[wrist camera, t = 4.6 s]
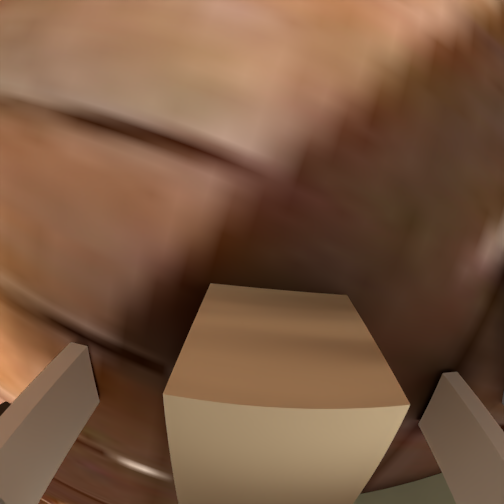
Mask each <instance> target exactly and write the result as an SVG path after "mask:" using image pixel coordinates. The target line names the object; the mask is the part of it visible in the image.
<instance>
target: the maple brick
mask: <svg viewBox="0 0 504 504" xmlns="http://www.w3.org/2000/svg"><path fill="white" fill-rule="evenodd" d="M163 401H164V411H165V420H166V428H167V436H168V443H169V450H170V457H171V464H172V470H173V476H174V482H175V487H176V493H177V498H178V503H179V504H353V503H354V502H355V500H356V499H357V497H358V496H359V494H360V493H361V491H362V490H363V488H364V487H365V485H366V484H367V482H368V481H369V479H370V478H371V476H372V475H373V473H374V471H375V470H376V468H377V466H378V465H379V463H380V461H381V460H382V458H383V456H384V455H385V453H386V451H387V449H388V447H389V446H390V444H391V442H392V440H393V438H394V437H395V435H396V433H397V431H398V429H399V427H400V425H401V423H402V421H403V419H404V417H405V415H406V413H407V411H408V409H409V407H410V403H409V401H408V399H407V397H406V396H405V394H404V392H403V390H402V388H401V387H400V385H399V383H398V381H397V379H396V378H395V376H394V374H393V372H392V370H391V369H390V367H389V365H388V363H387V362H386V360H385V358H384V356H383V355H382V353H381V351H380V349H379V348H378V346H377V344H376V342H375V341H374V339H373V337H372V336H371V334H370V332H369V331H368V329H367V327H366V326H365V324H364V322H363V321H362V319H361V317H360V316H359V314H358V312H357V311H356V309H355V307H354V306H353V304H352V302H351V301H350V299H349V298H348V296H347V295H338V294H324V293H311V292H299V291H287V290H275V289H264V288H254V287H243V286H233V285H223V284H214V283H210V285H209V288H208V290H207V292H206V295H205V297H204V299H203V301H202V304H201V306H200V308H199V310H198V313H197V315H196V317H195V320H194V322H193V324H192V326H191V329H190V331H189V333H188V336H187V338H186V340H185V343H184V345H183V347H182V350H181V352H180V354H179V357H178V359H177V361H176V364H175V366H174V368H173V371H172V373H171V375H170V378H169V380H168V383H167V385H166V387H165V390H164V392H163Z"/></svg>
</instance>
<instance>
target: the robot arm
mask: <svg viewBox="0 0 504 504" xmlns="http://www.w3.org/2000/svg"><path fill="white" fill-rule="evenodd" d="M99 402H100V401H99V397H98V393H97V389H96V385H95V380H94V376H93V371H92V367H91V362H90V357H89V352H88V346H85V345H81V344H77V343H73V342H70V343H69V344H68V345H67V346H66V347H65V348H64V349H63V350H62V351H61V352H60V353H59V354H58V355H57V356H56V357H55V358H54V359H53V360H52V361H51V362H50V363H49V364H48V365H47V367H46V368H45V369H44V370H43V371H42V372H41V373H40V374H39V375H38V376H37V377H36V378H35V379H34V380H33V381H32V382H31V383H30V384H29V385H28V386H27V388H26V389H25V390H24V391H23V392H22V393H21V394H20V395H19V396H18V397H17V398H16V399H15V400H14V402H13V403H12V404H10V403H8V402H4V403H2V404H0V504H38V503H39V501H40V499H41V497H42V496H43V494H44V492H45V490H46V489H47V487H48V485H49V483H50V482H51V480H52V478H53V477H54V475H55V473H56V472H57V470H58V468H59V466H60V465H61V463H62V461H63V460H64V458H65V457H66V455H67V453H68V452H69V450H70V448H71V447H72V445H73V443H74V442H75V440H76V439H77V437H78V435H79V434H80V432H81V431H82V429H83V427H84V426H85V424H86V423H87V421H88V419H89V418H90V416H91V415H92V413H93V412H94V410H95V408H96V407H97V405H98V404H99ZM418 425H419V427H420V429H421V431H422V433H423V435H424V437H425V439H426V441H427V443H428V445H429V447H430V449H431V451H432V453H433V455H434V457H435V459H436V461H437V463H438V465H439V467H440V470H441V472H442V474H443V476H444V478H445V480H446V482H447V485H448V487H449V489H450V491H451V493H452V496H453V498H454V500H455V502H456V504H504V432H503V431H502V429H501V428H500V426H499V425H498V424H497V422H496V421H495V420H494V418H493V417H492V416H491V414H490V413H489V412H488V410H487V409H486V408H485V406H484V405H483V404H482V402H481V401H480V400H479V398H478V397H477V396H476V395H475V393H474V392H473V391H472V390H471V388H470V387H469V386H468V384H467V383H466V382H465V381H464V379H463V378H462V377H461V376H460V375H459V373H458V372H448V373H442V376H441V378H440V380H439V382H438V385H437V387H436V389H435V391H434V394H433V396H432V398H431V400H430V402H429V404H428V406H427V408H426V410H425V412H424V414H423V416H422V418H421V420H420V422H419V424H418Z"/></svg>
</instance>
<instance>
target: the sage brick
mask: <svg viewBox="0 0 504 504" xmlns="http://www.w3.org/2000/svg"><path fill="white" fill-rule="evenodd" d="M353 504H456V502H455V500H454V498H453V496H452V493H451V491H450V489H449V487H448V485H447V482H446V480H445V478H444V476H443V474H442V473H440V474H437V475H434V476H431V477H427V478H424V479H421V480H417V481H414V482H410V483H407V484H403V485H399V486H395V487H391V488H387V489H382V490H378V491H373V492H368V493H363V494H359V496H358V497H357V499H356V500H355V502H354V503H353Z"/></svg>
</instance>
